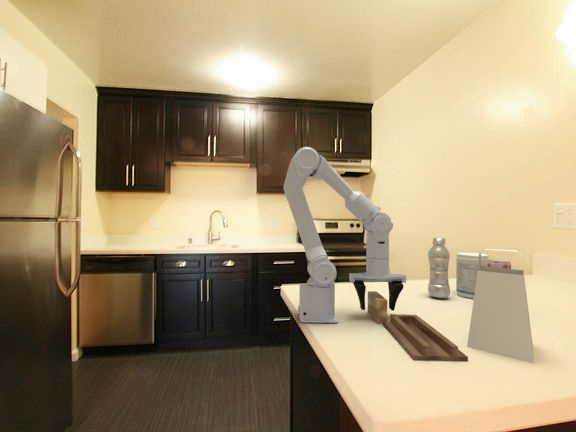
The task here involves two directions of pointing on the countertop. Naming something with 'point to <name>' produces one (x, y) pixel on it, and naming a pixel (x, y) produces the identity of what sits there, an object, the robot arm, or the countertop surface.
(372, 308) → the brown wooden block
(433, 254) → the plastic bottle
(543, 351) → the countertop surface
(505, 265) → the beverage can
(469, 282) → the supplement tub
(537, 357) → the countertop surface
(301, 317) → the robot arm
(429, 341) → the track
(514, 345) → the grater
